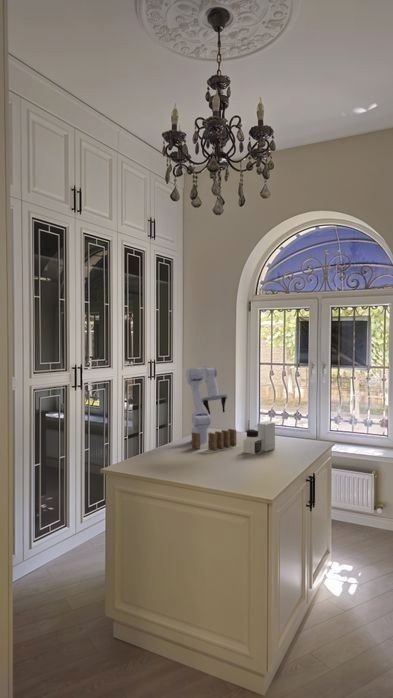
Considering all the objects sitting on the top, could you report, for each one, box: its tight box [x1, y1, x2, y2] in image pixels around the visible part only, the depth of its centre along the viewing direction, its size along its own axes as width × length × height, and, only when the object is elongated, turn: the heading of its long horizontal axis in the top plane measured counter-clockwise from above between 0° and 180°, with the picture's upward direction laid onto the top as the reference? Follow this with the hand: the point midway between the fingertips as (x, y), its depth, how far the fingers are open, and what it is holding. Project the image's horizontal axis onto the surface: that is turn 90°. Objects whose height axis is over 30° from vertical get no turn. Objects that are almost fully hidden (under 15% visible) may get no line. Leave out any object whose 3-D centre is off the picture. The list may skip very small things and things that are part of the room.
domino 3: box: [221, 429, 231, 449], centre depth 254 cm, size 5×2×9 cm, turn 41°
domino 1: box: [207, 431, 218, 452], centre depth 247 cm, size 5×2×9 cm, turn 41°
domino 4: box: [227, 428, 237, 446], centre depth 257 cm, size 5×2×9 cm, turn 41°
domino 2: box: [214, 430, 224, 449], centre depth 250 cm, size 5×2×9 cm, turn 41°
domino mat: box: [197, 444, 241, 455], centre depth 250 cm, size 8×26×1 cm, turn 131°
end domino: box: [191, 431, 201, 451], centre depth 250 cm, size 5×2×9 cm, turn 41°
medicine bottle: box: [242, 428, 262, 456], centre depth 243 cm, size 7×7×12 cm
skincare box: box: [257, 420, 276, 452], centre depth 248 cm, size 8×6×15 cm
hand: (216, 412), depth 242 cm, fingers open, 7 cm apart
